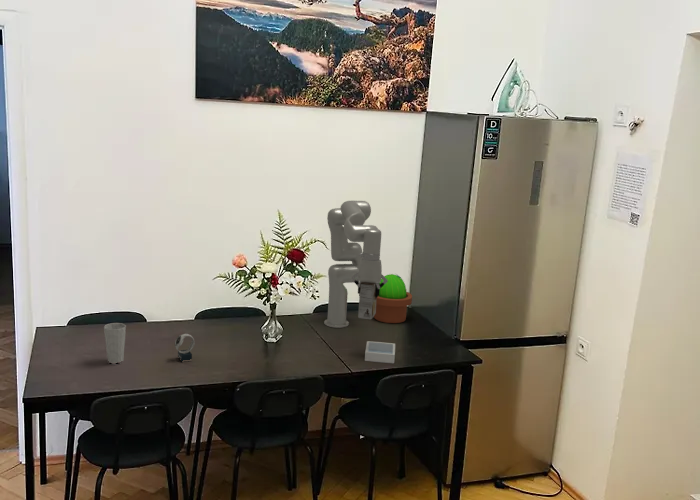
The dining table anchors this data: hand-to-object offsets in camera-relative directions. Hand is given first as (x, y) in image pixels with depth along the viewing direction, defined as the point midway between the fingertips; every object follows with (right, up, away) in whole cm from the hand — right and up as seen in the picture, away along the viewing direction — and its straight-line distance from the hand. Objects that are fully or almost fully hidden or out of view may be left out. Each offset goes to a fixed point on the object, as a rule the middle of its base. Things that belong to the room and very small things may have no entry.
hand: (368, 295), depth 273 cm
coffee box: (-1, -9, +2) cm, 10 cm away
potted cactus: (+13, -17, +59) cm, 63 cm away
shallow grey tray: (+5, -28, +5) cm, 29 cm away
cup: (-105, -26, -18) cm, 110 cm away
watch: (-78, -26, -11) cm, 83 cm away
